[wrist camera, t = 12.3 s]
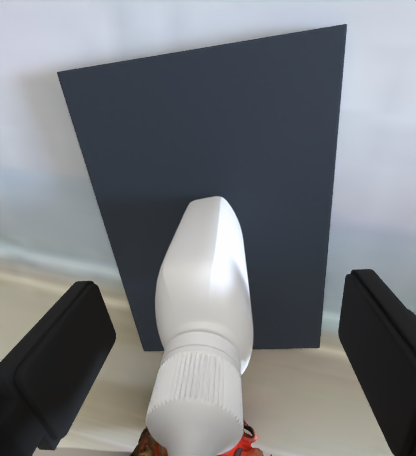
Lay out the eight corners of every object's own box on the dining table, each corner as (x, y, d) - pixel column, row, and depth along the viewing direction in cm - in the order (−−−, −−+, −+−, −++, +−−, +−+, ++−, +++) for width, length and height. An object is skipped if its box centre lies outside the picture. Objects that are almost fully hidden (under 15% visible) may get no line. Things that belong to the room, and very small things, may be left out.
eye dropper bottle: (172, 263, 17) (65, 538, 6) (193, 185, 14) (84, 400, 3) (233, 281, 17) (242, 579, 6) (264, 207, 15) (370, 474, 4)
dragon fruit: (141, 381, 26) (254, 380, 27) (133, 478, 24) (255, 472, 25) (122, 431, 17) (287, 426, 18) (108, 586, 16) (291, 569, 17)
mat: (63, 73, 13) (56, 72, 13) (342, 28, 11) (347, 23, 11) (146, 345, 21) (143, 351, 21) (317, 341, 19) (319, 348, 19)
